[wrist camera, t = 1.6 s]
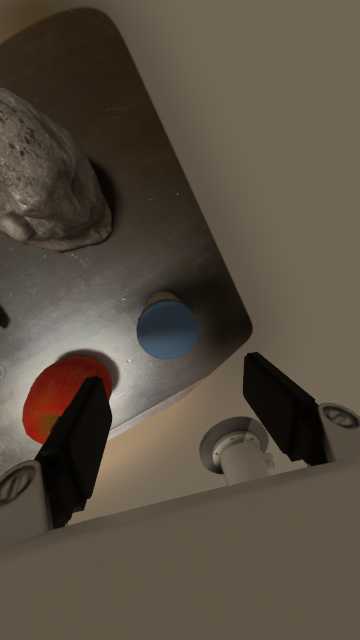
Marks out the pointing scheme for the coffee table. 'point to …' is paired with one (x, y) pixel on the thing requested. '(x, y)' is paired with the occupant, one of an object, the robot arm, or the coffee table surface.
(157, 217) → the coffee table surface
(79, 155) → the figurine
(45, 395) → the apple
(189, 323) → the jar lid
